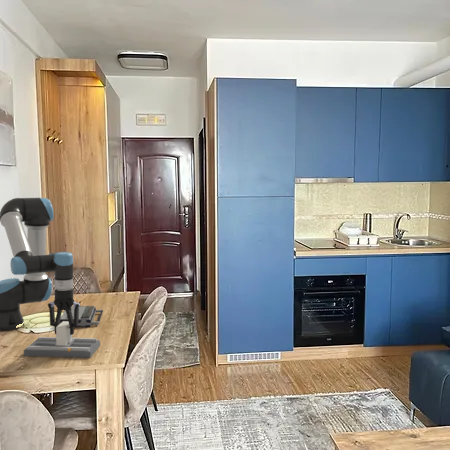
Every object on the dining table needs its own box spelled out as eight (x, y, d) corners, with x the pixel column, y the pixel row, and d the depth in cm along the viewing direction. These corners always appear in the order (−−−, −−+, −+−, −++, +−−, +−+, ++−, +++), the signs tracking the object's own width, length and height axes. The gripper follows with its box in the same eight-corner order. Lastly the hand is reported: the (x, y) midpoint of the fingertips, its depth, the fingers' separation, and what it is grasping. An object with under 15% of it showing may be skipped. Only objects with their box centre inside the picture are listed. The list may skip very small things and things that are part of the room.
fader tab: (54, 347, 192) (53, 327, 192) (61, 341, 200) (60, 321, 200) (68, 348, 192) (67, 327, 192) (74, 341, 200) (74, 321, 200)
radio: (65, 305, 249) (103, 304, 253) (65, 314, 250) (103, 313, 253) (57, 318, 225) (98, 317, 229) (57, 329, 226) (98, 327, 229)
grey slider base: (23, 356, 190) (23, 347, 189) (37, 344, 204) (37, 336, 203) (90, 357, 190) (90, 349, 189) (99, 345, 204) (99, 337, 203)
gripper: (40, 290, 190) (41, 344, 193) (80, 291, 190) (81, 345, 192) (47, 286, 198) (48, 338, 200) (86, 287, 198) (86, 339, 200)
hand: (64, 341), depth 196 cm, fingers closed on fader tab, 4 cm apart
